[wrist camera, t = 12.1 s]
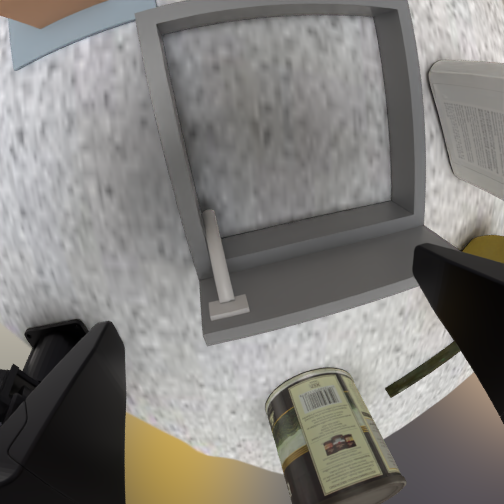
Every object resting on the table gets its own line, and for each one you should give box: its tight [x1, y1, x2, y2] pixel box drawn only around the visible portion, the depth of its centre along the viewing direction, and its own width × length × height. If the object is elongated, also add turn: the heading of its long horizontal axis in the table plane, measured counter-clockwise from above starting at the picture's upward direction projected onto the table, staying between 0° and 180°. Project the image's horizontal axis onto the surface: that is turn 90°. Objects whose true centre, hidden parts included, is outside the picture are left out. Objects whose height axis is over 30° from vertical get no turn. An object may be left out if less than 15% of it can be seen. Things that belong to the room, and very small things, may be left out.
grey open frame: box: [134, 0, 459, 346], centre depth 15 cm, size 16×17×8 cm
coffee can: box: [265, 368, 406, 504], centre depth 26 cm, size 10×10×14 cm
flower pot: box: [462, 235, 504, 263], centre depth 24 cm, size 9×9×9 cm
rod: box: [385, 341, 461, 398], centre depth 32 cm, size 31×1×2 cm, turn 119°
